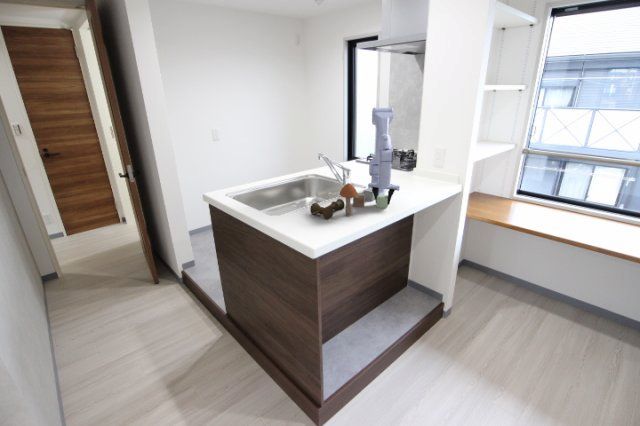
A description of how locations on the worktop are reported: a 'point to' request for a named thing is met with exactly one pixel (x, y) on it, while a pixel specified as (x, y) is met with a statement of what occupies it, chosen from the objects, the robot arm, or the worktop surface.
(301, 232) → the worktop surface
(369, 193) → the grey cube
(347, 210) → the mushroom
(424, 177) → the worktop surface
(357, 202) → the walnut cube
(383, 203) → the sage cube
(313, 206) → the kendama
